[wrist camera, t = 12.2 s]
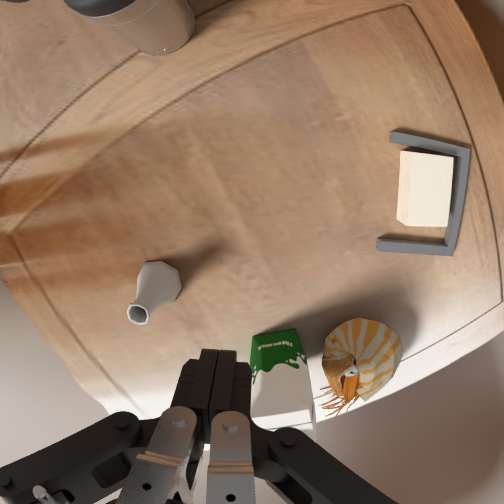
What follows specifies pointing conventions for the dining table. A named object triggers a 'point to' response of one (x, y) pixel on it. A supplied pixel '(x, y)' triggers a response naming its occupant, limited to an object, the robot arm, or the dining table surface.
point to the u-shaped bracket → (456, 200)
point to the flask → (153, 290)
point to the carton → (424, 189)
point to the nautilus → (360, 359)
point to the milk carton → (281, 384)
